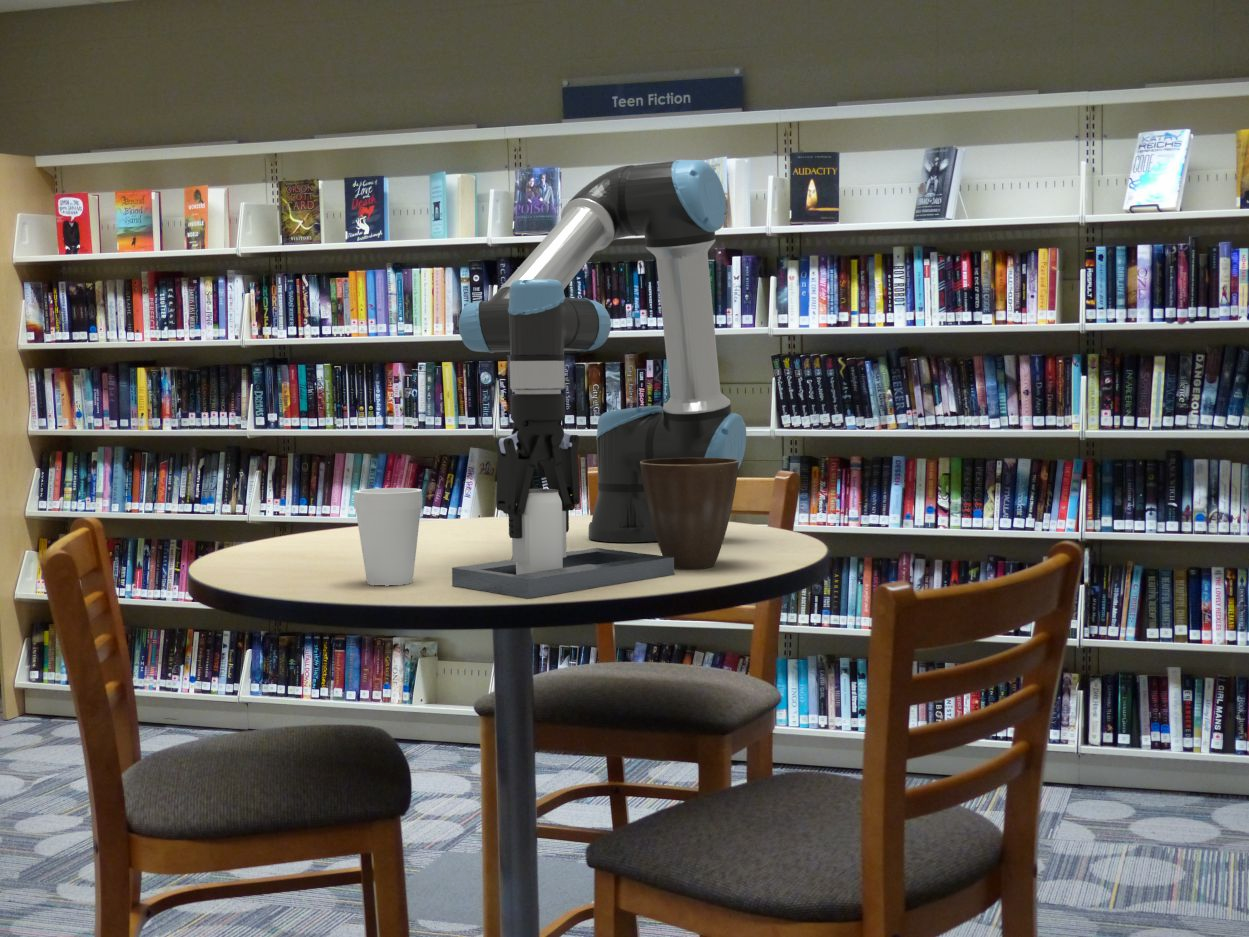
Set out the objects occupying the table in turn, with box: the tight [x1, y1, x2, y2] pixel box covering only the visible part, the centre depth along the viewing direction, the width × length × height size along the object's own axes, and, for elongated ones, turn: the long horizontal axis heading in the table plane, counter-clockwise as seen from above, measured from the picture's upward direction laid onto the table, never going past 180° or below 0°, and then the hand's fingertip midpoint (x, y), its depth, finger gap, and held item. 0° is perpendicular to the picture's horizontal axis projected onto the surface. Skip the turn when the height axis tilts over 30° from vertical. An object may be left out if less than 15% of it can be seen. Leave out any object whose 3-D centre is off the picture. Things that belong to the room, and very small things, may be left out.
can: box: [516, 488, 563, 575], centre depth 183 cm, size 6×6×12 cm
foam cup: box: [353, 487, 423, 587], centre depth 186 cm, size 10×9×13 cm
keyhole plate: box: [451, 547, 675, 599], centre depth 187 cm, size 28×16×2 cm, turn 135°
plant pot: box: [640, 458, 739, 570], centre depth 199 cm, size 15×15×16 cm
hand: (539, 558), depth 183 cm, fingers closed on can, 6 cm apart
